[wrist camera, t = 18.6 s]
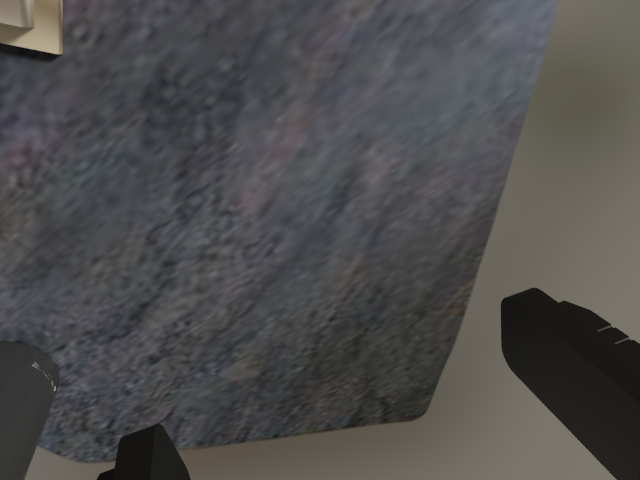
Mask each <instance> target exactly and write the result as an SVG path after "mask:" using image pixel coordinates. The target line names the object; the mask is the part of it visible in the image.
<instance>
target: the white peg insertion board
mask: <svg viewBox="0 0 640 480" xmlns="http://www.w3.org/2000/svg"><path fill="white" fill-rule="evenodd" d="M0 43H3V44H8V45H13V46H18V47H23V48H28V49H33V50H38V51H43V52H48V53H53V54H58V55H59V54H63V4H62V0H0Z"/></svg>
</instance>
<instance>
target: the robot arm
mask: <svg viewBox="0 0 640 480" xmlns="http://www.w3.org/2000/svg"><path fill="white" fill-rule="evenodd" d="M501 342H502V352H503V355H504V358H505V360H506V362H507V364H508V366H509V367H510V369H511V370H512V371H513V372H514V373H515V375H516V376H517V377H518V378H519V379H520V380H521V381H522V382H523V383H524V384H525V385H526V386H527V387H528V388H529V389H530V390H531V391H532V392H533V393H534V394H535V395H536V396H537V397H538V398H539V400H540V401H541V402H542V403H543V404H544V405H545V406H546V407H547V408H548V409H549V410H550V411H551V412H552V413H553V414H554V415H555V416H556V417H557V418H558V419H559V420H560V421H561V422H562V423H563V424H564V425H565V426H566V427H567V428H568V429H569V431H571V433H572V434H573V435H574V436H575V437H576V438H577V439H578V440H579V441H580V442H581V443H582V444H583V445H584V446H585V447H586V448H587V449H588V450H589V451H590V452H591V453H592V454H593V455H594V456H595V457H596V459H597V460H599V462H600V463H601V464H602V465H603V466H604V467H605V468H606V469H607V470H608V471H609V472H610V473H611V474H612V475H613V476H614V477H615V478H616V479H617V480H640V344H639V343H637V342H636V341H634V340H630V339H629V336H627V335H626V334H624V333H623V332H621V331H620V330H618V329H617V328H613V327H612V326H611V324H610V323H608V322H607V321H605V320H604V319H602V318H601V317H599V316H598V315H597V314H595V313H593V312H592V311H591V310H588V309H586V308H583V307H580V306H577V305H575V304H572V303H569V302H567V301H562V302H560V303H558V302H557V301H555V300H554V299H552V298H551V297H550V296H548V295H547V294H546V293H544V292H543V291H541V290H539V289H537V288H531V289H528V290H526V291H523V292H520V293H517V294H514V295H512V296H509V297H506V298H504V299H503V300H502V302H501ZM58 386H59V374H58V370H57V368H56V366H55V364H54V363H53V362H52V361H51V359H50V358H49V357H48V356H46V355H45V354H44V353H42V352H41V351H39V350H37V349H35V348H33V347H31V346H27V345H24V344H21V343H14V342H0V480H25V477H26V474H27V471H28V469H29V465H30V463H31V460H32V458H33V455H34V452H35V449H36V447H37V444H38V441H39V438H40V436H41V433H42V430H43V427H44V425H45V422H46V419H47V417H48V414H49V411H50V408H51V406H52V403H53V400H54V397H55V395H56V392H57V389H58ZM97 480H190V476H189V473H188V470H187V468H186V466H185V464H184V462H183V461H182V459H181V457H180V455H179V453H178V452H177V450H176V448H175V446H174V445H173V443H172V441H171V439H170V438H169V436H168V434H167V432H166V430H165V429H164V427H163V426H162V425H161V424H156V425H153V426H151V427H148V428H145V429H142V430H140V431H137V432H134V433H131V434H129V435H126V436H123V437H122V438H121V439H120V442H119V446H118V451H117V458H116V464H115V468H114V469H111V470H109V471H106V472H104V473H101V474H100V475H99V476H98V478H97Z"/></svg>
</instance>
